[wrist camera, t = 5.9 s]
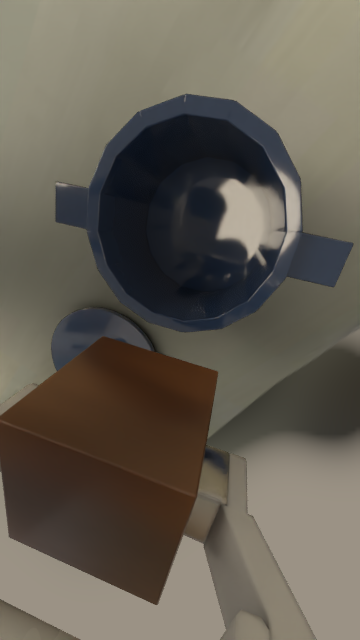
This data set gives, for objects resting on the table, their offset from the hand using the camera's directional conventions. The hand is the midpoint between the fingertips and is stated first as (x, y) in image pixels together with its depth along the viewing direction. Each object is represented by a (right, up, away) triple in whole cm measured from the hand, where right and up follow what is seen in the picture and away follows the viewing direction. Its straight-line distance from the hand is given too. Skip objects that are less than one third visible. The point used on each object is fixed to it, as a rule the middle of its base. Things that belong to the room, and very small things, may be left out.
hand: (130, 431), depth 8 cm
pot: (+4, +11, +13) cm, 18 cm away
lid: (-7, -1, +20) cm, 21 cm away
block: (0, 0, +2) cm, 2 cm away
